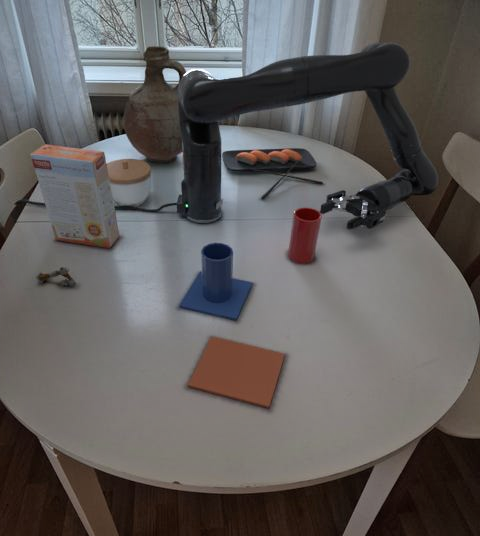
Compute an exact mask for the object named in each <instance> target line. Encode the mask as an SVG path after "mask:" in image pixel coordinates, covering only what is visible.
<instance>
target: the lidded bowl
mask: <svg viewBox="0 0 480 536" xmlns="http://www.w3.org/2000/svg"><path fill="white" fill-rule="evenodd" d="M106 165H107V170H108V175H109V181H110V186H111V192H112V197H113V202H114V203H117V205H118V206H133V207H140V206H141V205H143V204H144V203H145V201H146V200H147V198H148V197H149V195H150V193H151V190H152V167H151V165H150V164H149V163H148V162H146V161H144V160H141V159H136V158H121V159H116V160H111V161H109V162H106Z"/></svg>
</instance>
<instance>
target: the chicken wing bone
mask: <svg viewBox="0 0 480 536" xmlns="http://www.w3.org/2000/svg"><path fill="white" fill-rule="evenodd" d="M69 271H70V269H69V268H68V267H66V266H65V267H64V266H61V267H59V269H58V270H57V269H56V270H53V271H50V272H48V273H43V272H42V271H39V273H37V275H35V278H36V280H37V281H38V282H39V283H40V284H43V283H44V282H45V281H46V280H48V279H50V278H51V279H53V278H57V277H59V276H62V277H64V278H65V279H62V280H61V281H60V282H59V285H61V286H62V287H63V286H68V285H69V284H71V285H72V287H73V286H76V285H77V282H76V281H75V279H74V278H73V277H72V275H70V273H69Z"/></svg>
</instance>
